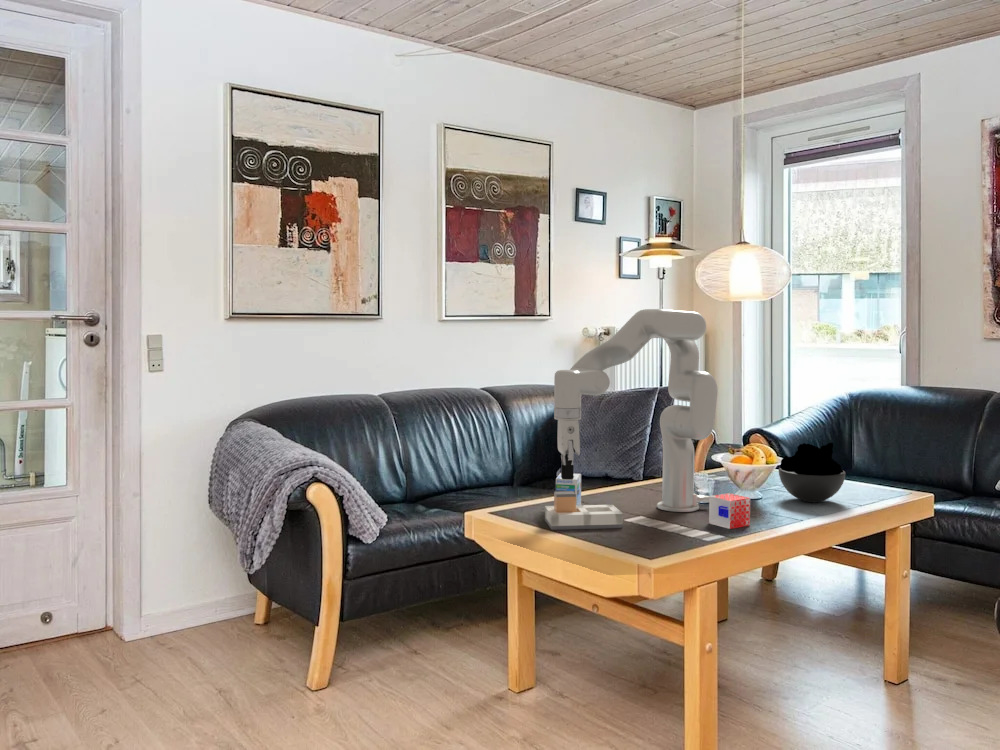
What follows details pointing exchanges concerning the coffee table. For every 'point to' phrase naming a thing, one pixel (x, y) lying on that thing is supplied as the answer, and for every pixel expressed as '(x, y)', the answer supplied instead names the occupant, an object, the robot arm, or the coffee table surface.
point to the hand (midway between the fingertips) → (567, 478)
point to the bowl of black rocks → (811, 473)
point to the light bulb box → (570, 486)
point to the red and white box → (729, 510)
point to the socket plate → (585, 517)
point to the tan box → (564, 501)
